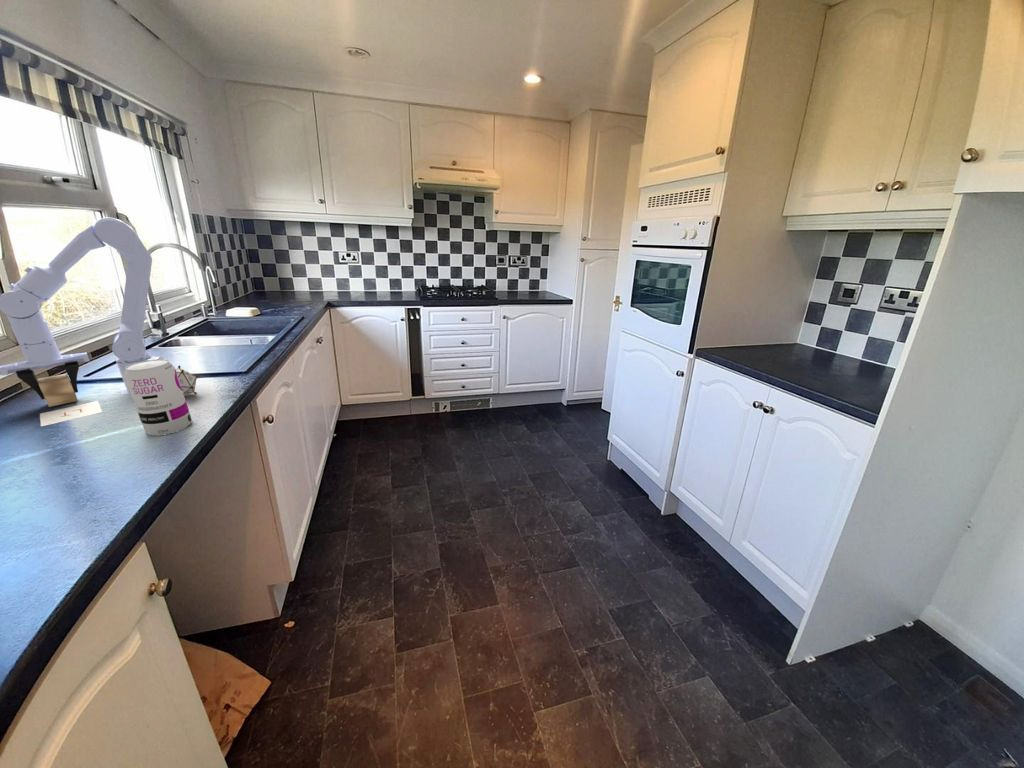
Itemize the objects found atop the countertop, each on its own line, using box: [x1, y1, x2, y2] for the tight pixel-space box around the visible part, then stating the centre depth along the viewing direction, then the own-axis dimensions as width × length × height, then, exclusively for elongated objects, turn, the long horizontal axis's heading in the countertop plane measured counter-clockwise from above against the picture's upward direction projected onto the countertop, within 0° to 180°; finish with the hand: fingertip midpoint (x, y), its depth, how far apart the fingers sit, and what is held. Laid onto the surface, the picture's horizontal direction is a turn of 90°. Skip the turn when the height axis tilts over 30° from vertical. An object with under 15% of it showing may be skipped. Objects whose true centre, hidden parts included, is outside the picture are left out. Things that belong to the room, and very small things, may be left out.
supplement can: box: [124, 358, 193, 436], centre depth 88 cm, size 8×8×15 cm
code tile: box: [39, 400, 103, 427], centre depth 97 cm, size 10×10×1 cm
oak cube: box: [37, 373, 78, 408], centre depth 101 cm, size 5×5×6 cm
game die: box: [175, 364, 201, 397], centre depth 106 cm, size 9×8×10 cm
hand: (60, 394), depth 102 cm, fingers closed on oak cube, 5 cm apart
